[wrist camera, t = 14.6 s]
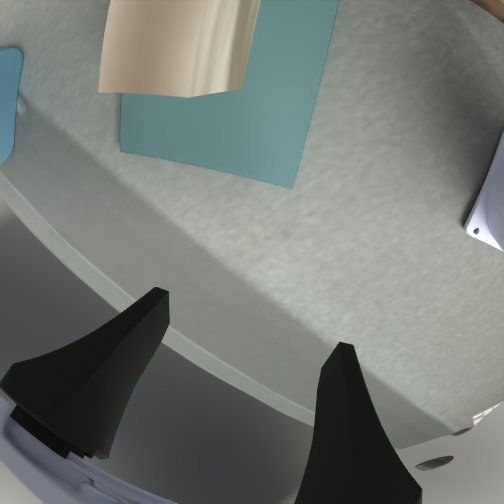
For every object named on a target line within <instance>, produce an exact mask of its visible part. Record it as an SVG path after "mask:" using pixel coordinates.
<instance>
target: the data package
mask: <svg viewBox="0 0 504 504" xmlns="http://www.w3.org/2000/svg"><path fill="white" fill-rule="evenodd" d="M22 63H23V54H22V52H21V51H20V50H19V49H18V48H9V47H0V163H2V162H4V161H5V160H6V159H7V158H8V157H9V156H10V154H11V153H12V150H13V147H14V135H15V117H16V105H17V96H18V88H19V81H20V75H21V69H22Z"/></svg>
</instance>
